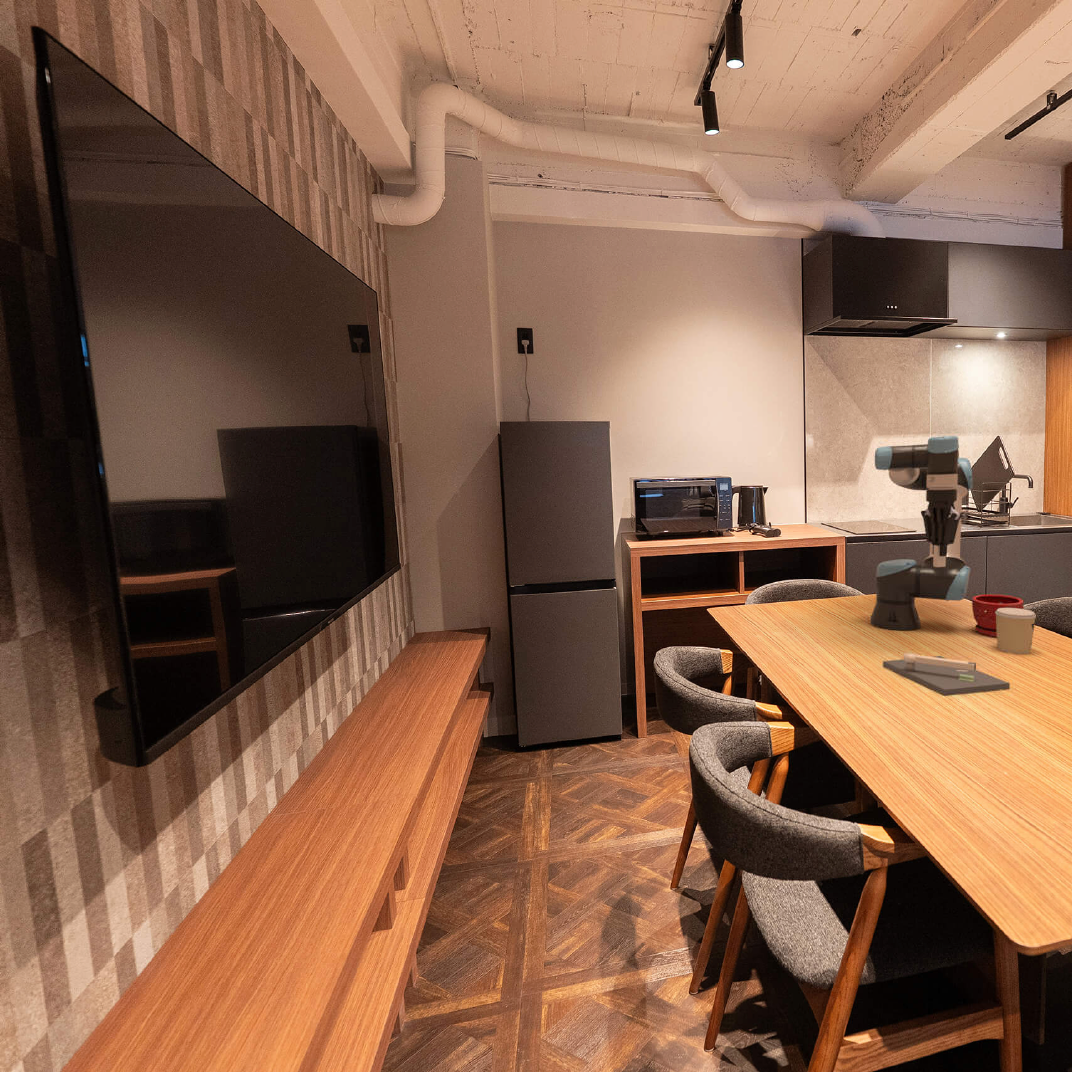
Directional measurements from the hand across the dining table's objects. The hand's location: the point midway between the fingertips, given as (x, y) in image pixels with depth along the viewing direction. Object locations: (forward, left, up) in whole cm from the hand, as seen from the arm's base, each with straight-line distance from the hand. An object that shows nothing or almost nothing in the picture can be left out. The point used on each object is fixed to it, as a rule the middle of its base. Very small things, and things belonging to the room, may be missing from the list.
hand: (939, 566), depth 173 cm
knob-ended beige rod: (+20, -17, -22) cm, 35 cm away
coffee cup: (+5, +21, -27) cm, 34 cm away
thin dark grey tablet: (+19, -15, -26) cm, 36 cm away
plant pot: (-10, +30, -27) cm, 41 cm away
